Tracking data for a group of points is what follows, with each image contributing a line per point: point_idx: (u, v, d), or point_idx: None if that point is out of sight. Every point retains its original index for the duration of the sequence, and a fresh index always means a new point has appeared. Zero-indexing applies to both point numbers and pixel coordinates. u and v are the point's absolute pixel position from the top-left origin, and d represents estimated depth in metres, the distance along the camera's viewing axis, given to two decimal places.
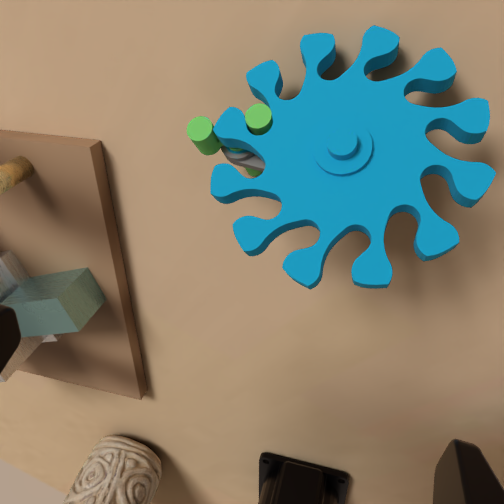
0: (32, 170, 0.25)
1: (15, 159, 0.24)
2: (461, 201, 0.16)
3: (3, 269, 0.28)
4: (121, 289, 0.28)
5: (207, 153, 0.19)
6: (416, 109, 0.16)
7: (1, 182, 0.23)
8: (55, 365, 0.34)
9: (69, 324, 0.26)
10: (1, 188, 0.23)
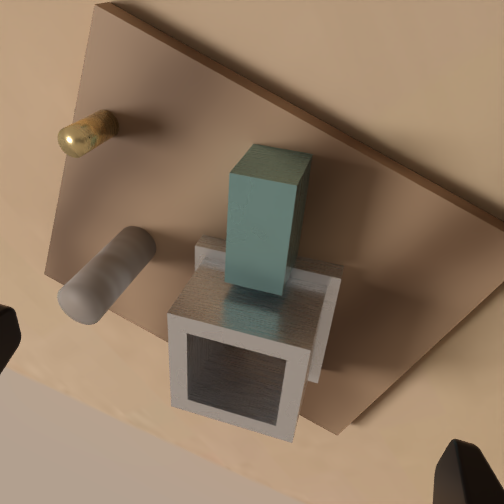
0: (110, 113, 0.19)
1: None
2: None
3: (210, 255, 0.21)
4: (309, 120, 0.18)
5: None
6: None
7: (73, 126, 0.18)
8: (397, 335, 0.21)
9: (280, 192, 0.16)
10: (77, 129, 0.18)
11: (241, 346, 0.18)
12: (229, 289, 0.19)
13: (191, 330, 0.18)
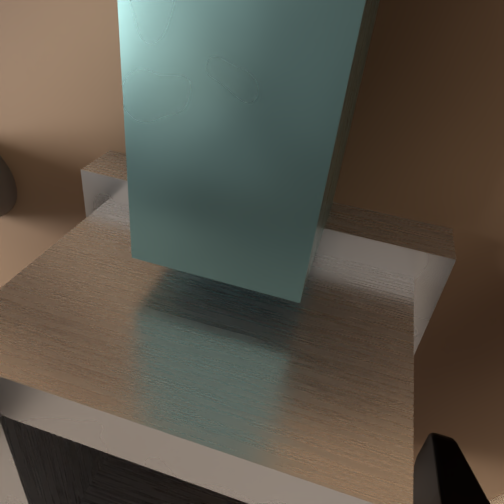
0: None
1: None
2: None
3: (118, 195, 0.08)
4: None
5: None
6: None
7: None
8: None
9: None
10: None
11: (164, 469, 0.05)
12: (151, 280, 0.07)
13: (8, 407, 0.06)
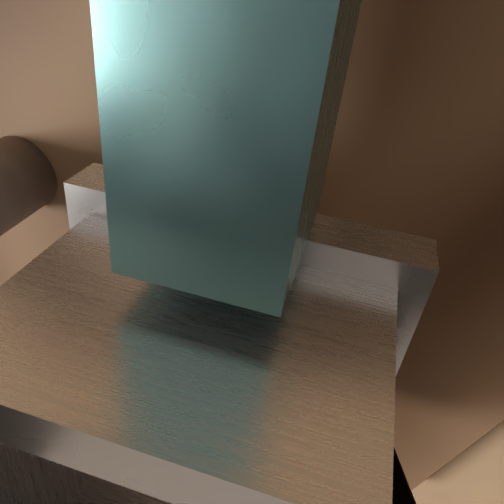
0: None
1: None
2: None
3: (101, 207, 0.08)
4: None
5: None
6: None
7: None
8: None
9: None
10: None
11: (142, 489, 0.05)
12: (132, 295, 0.07)
13: None
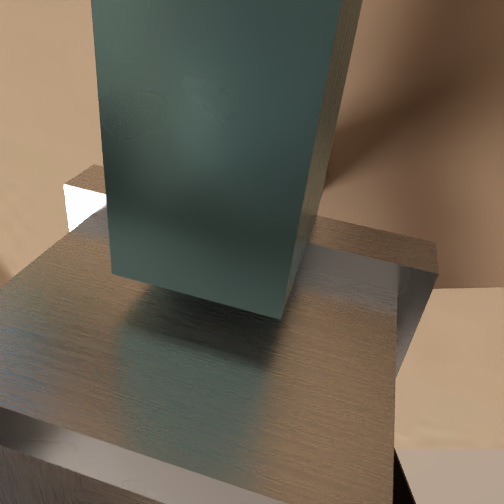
0: None
1: None
2: None
3: (101, 209, 0.08)
4: None
5: None
6: None
7: None
8: None
9: None
10: None
11: (142, 491, 0.05)
12: (132, 296, 0.07)
13: None
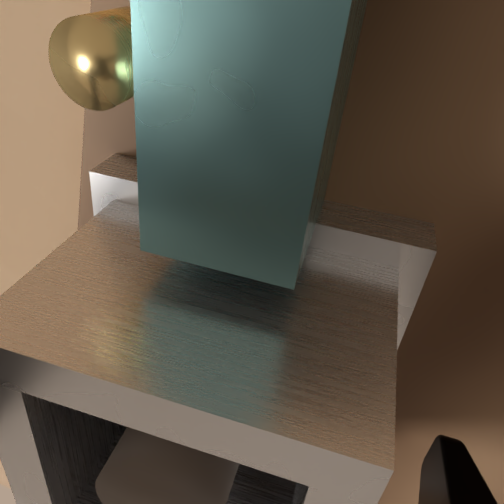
0: None
1: None
2: None
3: (124, 194, 0.09)
4: None
5: None
6: None
7: (88, 15, 0.06)
8: None
9: None
10: (101, 19, 0.06)
11: (173, 438, 0.06)
12: (157, 271, 0.07)
13: (31, 385, 0.06)
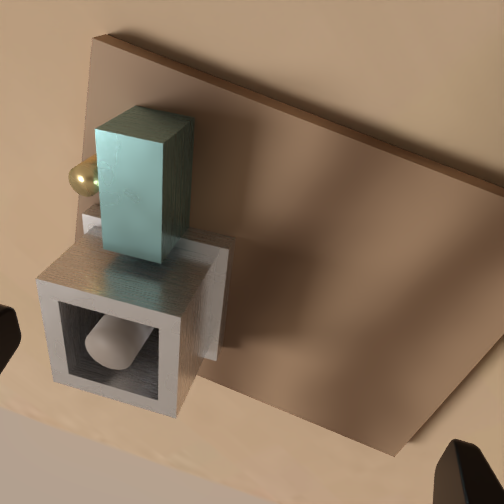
0: None
1: None
2: None
3: (98, 224, 0.20)
4: (328, 126, 0.17)
5: None
6: None
7: (83, 164, 0.17)
8: (448, 342, 0.20)
9: (147, 150, 0.15)
10: (88, 167, 0.17)
11: (113, 314, 0.17)
12: (110, 258, 0.18)
13: (62, 297, 0.17)
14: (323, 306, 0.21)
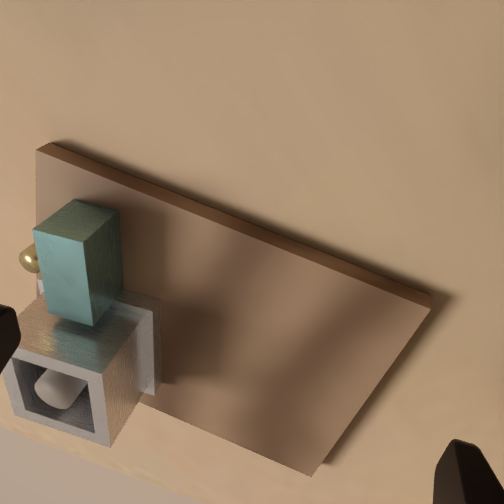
0: None
1: None
2: None
3: None
4: (221, 220, 0.21)
5: None
6: None
7: (29, 249, 0.21)
8: (337, 386, 0.24)
9: (72, 247, 0.20)
10: (32, 252, 0.21)
11: (52, 368, 0.21)
12: (55, 319, 0.23)
13: (13, 354, 0.21)
14: (236, 355, 0.25)
